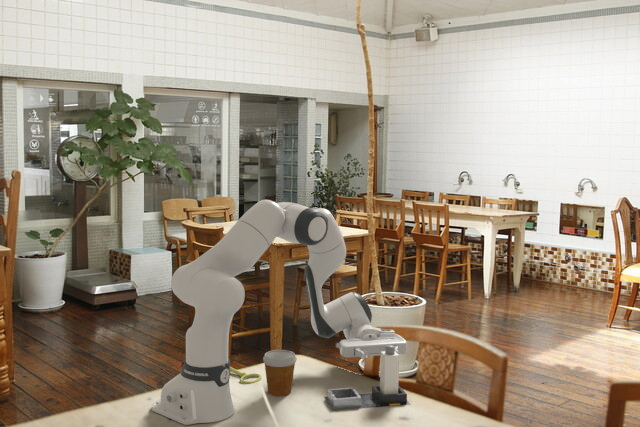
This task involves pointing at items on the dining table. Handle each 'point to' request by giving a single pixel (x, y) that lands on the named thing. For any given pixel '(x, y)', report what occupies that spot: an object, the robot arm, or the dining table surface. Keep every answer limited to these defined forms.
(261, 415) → the dining table surface
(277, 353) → the disposable coffee cup
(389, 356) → the plug
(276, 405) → the dining table surface
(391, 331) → the robot arm
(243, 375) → the key
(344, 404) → the panel
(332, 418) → the dining table surface
